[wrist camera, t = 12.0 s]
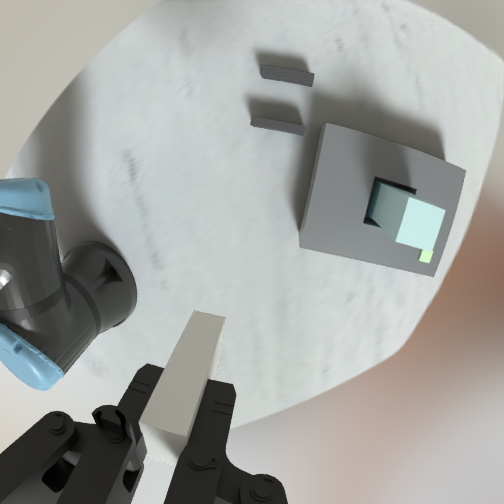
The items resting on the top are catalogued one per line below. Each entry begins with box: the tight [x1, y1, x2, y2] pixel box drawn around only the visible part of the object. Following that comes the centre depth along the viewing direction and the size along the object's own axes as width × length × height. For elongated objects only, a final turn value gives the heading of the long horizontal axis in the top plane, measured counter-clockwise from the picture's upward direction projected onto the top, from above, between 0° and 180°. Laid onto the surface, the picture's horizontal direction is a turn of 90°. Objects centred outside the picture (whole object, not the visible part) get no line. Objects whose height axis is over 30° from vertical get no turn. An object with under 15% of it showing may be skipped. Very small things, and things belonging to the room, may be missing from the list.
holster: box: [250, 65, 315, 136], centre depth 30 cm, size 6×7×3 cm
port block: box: [299, 123, 466, 277], centre depth 31 cm, size 18×14×5 cm
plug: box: [366, 180, 446, 252], centre depth 27 cm, size 4×4×12 cm
